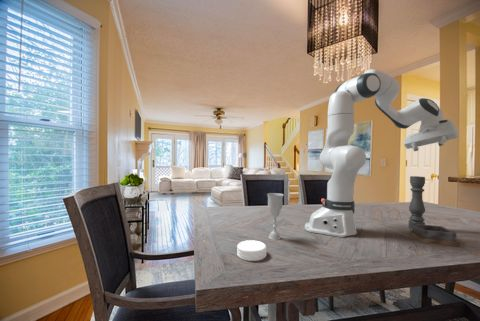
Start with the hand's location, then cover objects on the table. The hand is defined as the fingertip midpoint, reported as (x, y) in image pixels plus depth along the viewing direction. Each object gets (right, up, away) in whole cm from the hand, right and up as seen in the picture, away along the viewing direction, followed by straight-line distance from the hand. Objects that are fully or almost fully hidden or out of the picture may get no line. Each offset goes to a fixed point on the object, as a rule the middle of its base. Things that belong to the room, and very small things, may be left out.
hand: (427, 147), depth 102 cm
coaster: (-82, -38, -26) cm, 94 cm away
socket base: (-5, -39, -9) cm, 40 cm away
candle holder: (-1, -39, +5) cm, 39 cm away
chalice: (-71, -38, -9) cm, 81 cm away
